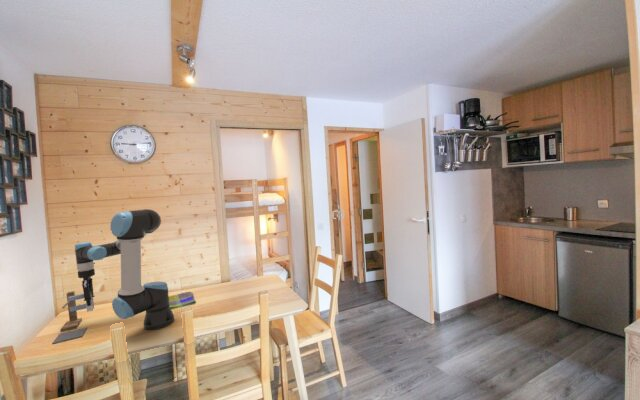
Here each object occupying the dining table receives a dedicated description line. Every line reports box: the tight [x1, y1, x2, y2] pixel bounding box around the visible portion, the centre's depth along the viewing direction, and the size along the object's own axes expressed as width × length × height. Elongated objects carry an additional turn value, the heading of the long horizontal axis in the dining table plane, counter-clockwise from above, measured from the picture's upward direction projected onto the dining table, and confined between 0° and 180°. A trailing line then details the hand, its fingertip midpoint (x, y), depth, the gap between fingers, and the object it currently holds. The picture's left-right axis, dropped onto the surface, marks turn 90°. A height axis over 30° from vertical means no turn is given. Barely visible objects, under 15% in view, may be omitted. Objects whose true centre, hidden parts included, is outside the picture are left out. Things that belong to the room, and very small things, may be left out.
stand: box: [59, 290, 83, 333], centre depth 169 cm, size 18×7×18 cm, turn 28°
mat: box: [52, 327, 88, 345], centre depth 158 cm, size 12×12×1 cm
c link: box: [68, 293, 94, 312], centre depth 167 cm, size 10×2×8 cm, turn 119°
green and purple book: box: [169, 291, 196, 311], centre depth 197 cm, size 18×24×3 cm
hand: (90, 310), depth 169 cm, fingers closed on c link, 2 cm apart
